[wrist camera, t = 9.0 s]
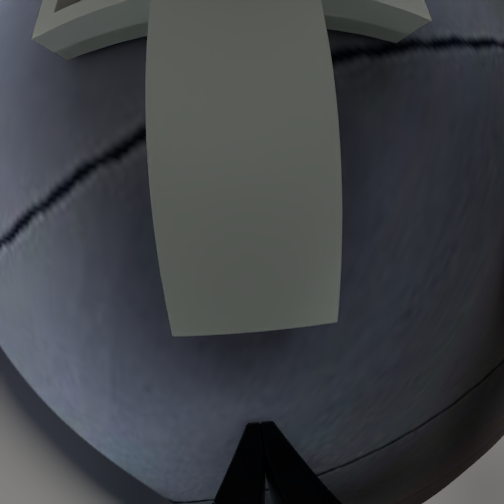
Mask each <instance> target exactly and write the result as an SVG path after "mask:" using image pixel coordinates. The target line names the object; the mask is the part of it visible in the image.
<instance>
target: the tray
mask: <svg viewBox="0 0 504 504" xmlns="http://www.w3.org/2000/svg"><path fill="white" fill-rule="evenodd" d="M431 21H432V20H431V17H430V14H429V11H428V8H427V6H426V3H425V0H43V1H42V4H41V7H40V11H39V14H38V17H37V20H36V24H35V28H34V31H33V35H32V40H33V41H35V42H36V43H38V44H40V45H42V46H43V47H45V48H47V49H49V50H50V51H52V52H54V53H55V54H57V55H59V56H60V57H62V58H64V59H65V60H69V59H72V58H74V57H77V56H80V55H82V54H85V53H88V52H91V51H94V50H97V49H100V48H103V47H106V46H110V45H113V44H117V43H120V42H124V41H128V40H132V39H136V38H140V37H145V36H147V50H146V79H145V113H146V144H147V162H148V176H149V188H150V199H151V208H152V217H153V226H154V234H155V241H156V248H157V255H158V262H159V268H160V274H161V280H162V286H163V292H164V297H165V302H166V308H167V313H168V318H169V322H170V327H171V332H172V336H173V337H179V336H204V335H222V334H237V333H249V332H261V331H271V330H281V329H290V328H299V327H307V326H315V325H322V324H329V323H336V322H338V310H339V296H340V279H341V257H342V173H341V151H340V135H339V121H338V110H337V100H336V90H335V82H334V74H333V66H332V59H331V52H330V46H329V40H328V34H327V29H331V30H338V31H344V32H350V33H355V34H360V35H365V36H370V37H374V38H378V39H382V40H386V41H390V42H394V43H397V42H399V41H400V40H402V39H403V38H405V37H406V36H408V35H410V34H411V33H413V32H414V31H416V30H417V29H419V28H421V27H422V26H424V25H426V24H427V23H429V22H431Z"/></svg>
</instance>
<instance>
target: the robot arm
mask: <svg viewBox="0 0 504 504" xmlns="http://www.w3.org/2000/svg"><path fill="white" fill-rule="evenodd" d="M265 474H266V479H267V483H268V487H269V490H270V494H271V497H272V500H273V504H342V503H341V502H340V501H339V500H338V499H337V498H336V497H335V496H334V495H333V494H332V493H331V491H330V490H328V488H327V487H326V486H325V485H324V484H323V483H322V481H321V480H320V479H319V478H318V477H317V476H316V474H315V473H314V472H313V471H312V470H311V469H310V467H309V466H308V465H307V464H306V463H305V461H304V460H303V459H302V458H301V456H300V455H299V454H298V453H297V451H296V450H295V449H294V448H293V446H292V445H291V444H290V443H289V441H288V440H287V439H286V438H285V436H284V435H283V434H282V432H281V431H280V430H279V428H278V427H277V426H276V425H275V423H274V422H273V421H266V422H261V423H258V422H256V423H248V424H247V425H246V427H245V430H244V432H243V435H242V437H241V439H240V442H239V444H238V447H237V449H236V451H235V454H234V456H233V458H232V461H231V463H230V465H229V468H228V470H227V472H226V474H225V477H224V479H223V481H222V483H221V486H220V488H219V490H218V492H217V494H216V496H215V499H214V501H213V502H214V503H212V504H265V484H266V482H265ZM327 490H328V491H327Z"/></svg>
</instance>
